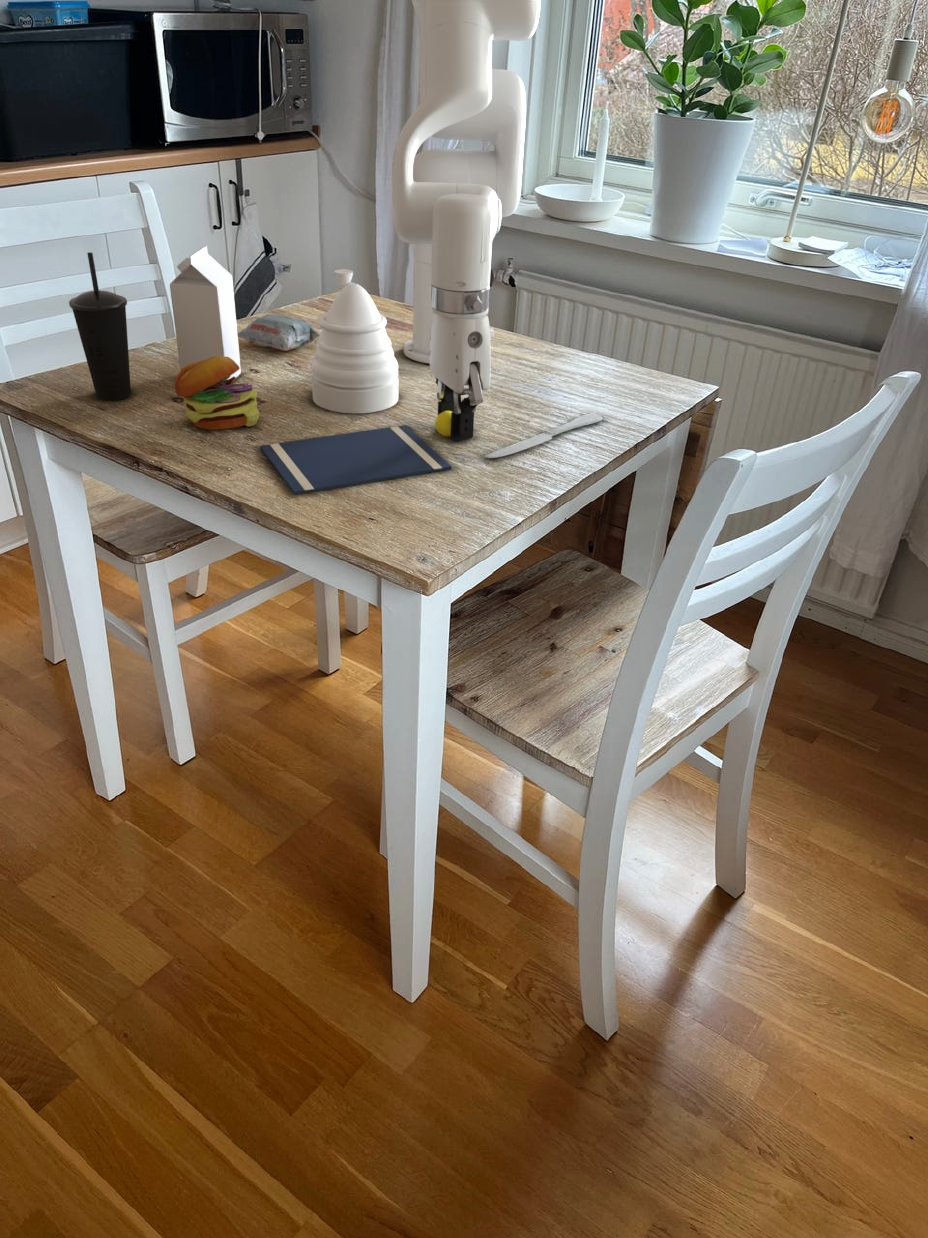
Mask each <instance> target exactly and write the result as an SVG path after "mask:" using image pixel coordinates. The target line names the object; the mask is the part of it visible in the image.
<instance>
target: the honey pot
mask: <svg viewBox="0 0 928 1238" xmlns="http://www.w3.org/2000/svg"><path fill="white" fill-rule="evenodd" d="M353 275H354V271H353V270H351V269H347V268H346V269H345V268H342V269H341V268H340V269H339V268H338V269H335V270H334V277H335V280H336V281H337V283H338V284H339V285H341V286H343V287H342V288H341V289H340V290H339V292H338V293H337V294H336V296H335V297H334V299H333V301H332V303H331V304H330V307H329V310H328V311H326V312H325V311H324V312H323V313H321V314H319V316H317V319H316V322H317V325H318V326H319V327H320V328H321V332H320V336H319V337H318V338H317V340H316V345H317V347H316V348H315V350H314V357H313V359H311V363H310V364H311V365H310V366H311V367H310V368H311V388H312V390H311V391H312V392H311V393H312V401H313V402H314V404H315V405H316V406H319V407H320V408H322V409H324V410H328V411H332V412H336V413H344V414H367V413H368V414H369V413H377V412H380V411H385V410H387V409H389V408H391V407H393V406H395V405H396V404H397V403H398V402H399V363H398V360H397V359H396V357H395V353H394V349H393V347H392V341H391V339H390V338H389V335H388V333H387V330H386V326H387V323H388V321H387V318H386V317H385V316H384V315H383V314H382V313H380V312H379V310H378V308H377V305H376V304H375V302H374V300H373V299H372V296H371V295H370V294H369V293H368V292H367V290H366V289H365V288H364V287H363V286H362V285H360V284H358V283H355V282H352V280H353Z"/></svg>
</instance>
